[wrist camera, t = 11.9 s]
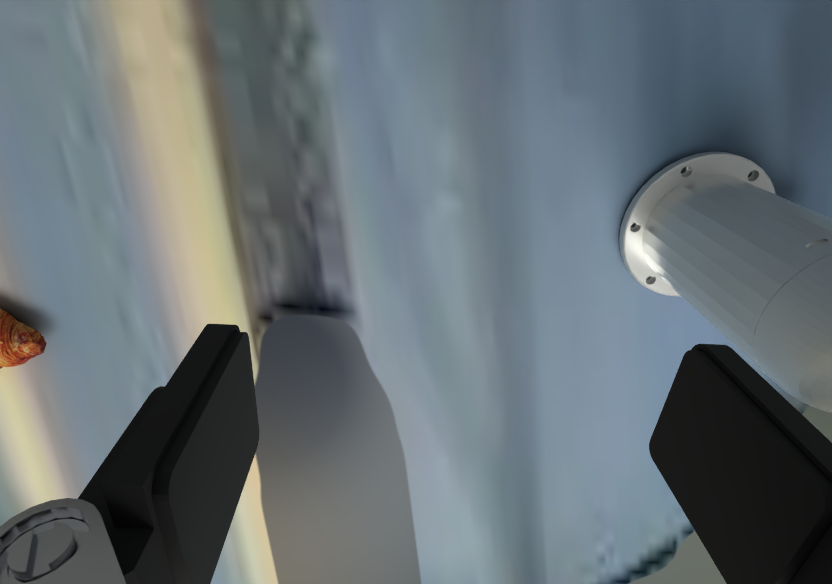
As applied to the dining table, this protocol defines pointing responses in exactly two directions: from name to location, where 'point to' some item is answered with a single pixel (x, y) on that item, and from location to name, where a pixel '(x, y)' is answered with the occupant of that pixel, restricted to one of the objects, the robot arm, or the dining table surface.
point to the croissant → (18, 341)
